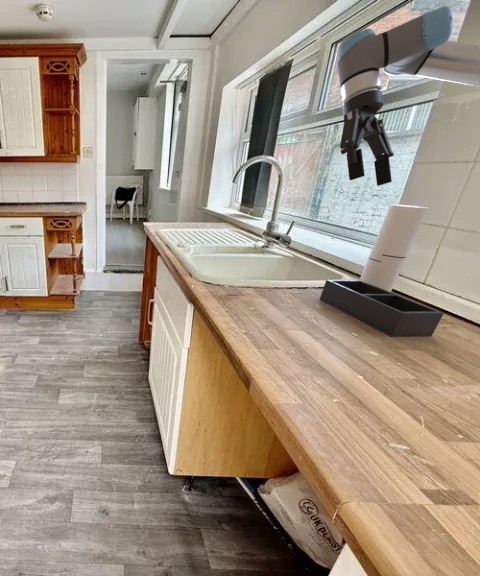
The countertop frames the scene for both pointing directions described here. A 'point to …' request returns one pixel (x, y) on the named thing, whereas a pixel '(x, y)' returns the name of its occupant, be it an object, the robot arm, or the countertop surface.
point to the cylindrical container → (393, 245)
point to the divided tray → (381, 308)
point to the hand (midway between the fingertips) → (371, 181)
